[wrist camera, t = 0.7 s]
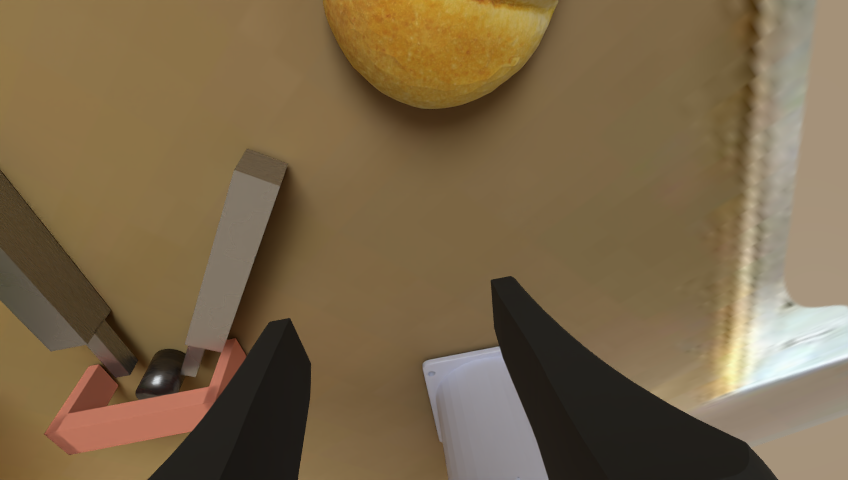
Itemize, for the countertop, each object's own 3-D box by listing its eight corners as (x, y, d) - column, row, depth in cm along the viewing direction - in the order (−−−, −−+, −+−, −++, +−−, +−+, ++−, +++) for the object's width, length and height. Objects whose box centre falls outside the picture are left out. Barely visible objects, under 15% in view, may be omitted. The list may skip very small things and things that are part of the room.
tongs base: (196, 368, 26) (182, 402, 24) (132, 380, 26) (113, 415, 24) (13, 111, 17) (-34, 132, 15) (-85, 129, 17) (-145, 152, 15)
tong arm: (219, 359, 25) (208, 390, 24) (187, 352, 25) (173, 384, 23) (287, 163, 19) (280, 186, 17) (246, 148, 19) (234, 170, 17)
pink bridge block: (248, 360, 26) (231, 423, 22) (108, 387, 26) (69, 455, 22) (235, 338, 25) (214, 401, 21) (88, 366, 25) (43, 434, 21)
